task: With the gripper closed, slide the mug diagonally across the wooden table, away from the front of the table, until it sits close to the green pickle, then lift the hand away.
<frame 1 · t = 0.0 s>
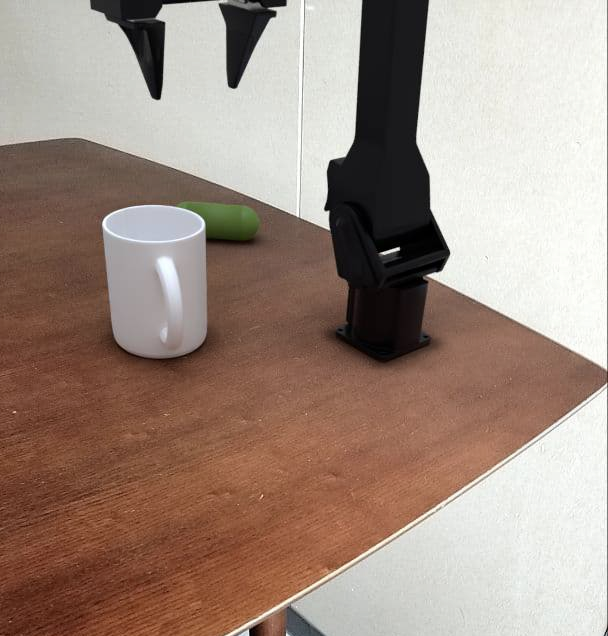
hand: (195, 93, 85), 15 cm above the table, tool pointing down, fingers open, 9 cm apart
pickle: (215, 237, 96), on the table
mug: (164, 350, 76), on the table
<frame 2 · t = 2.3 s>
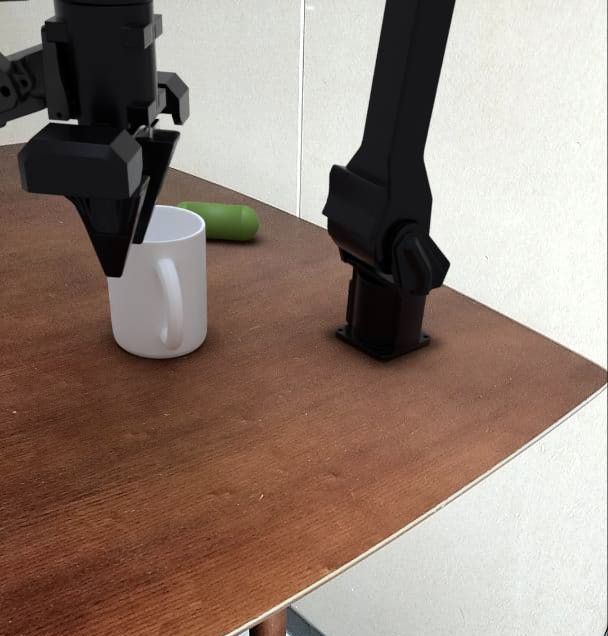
hand: (124, 259, 60), 12 cm above the table, tool pointing down, fingers open, 6 cm apart
nothing on the table moved.
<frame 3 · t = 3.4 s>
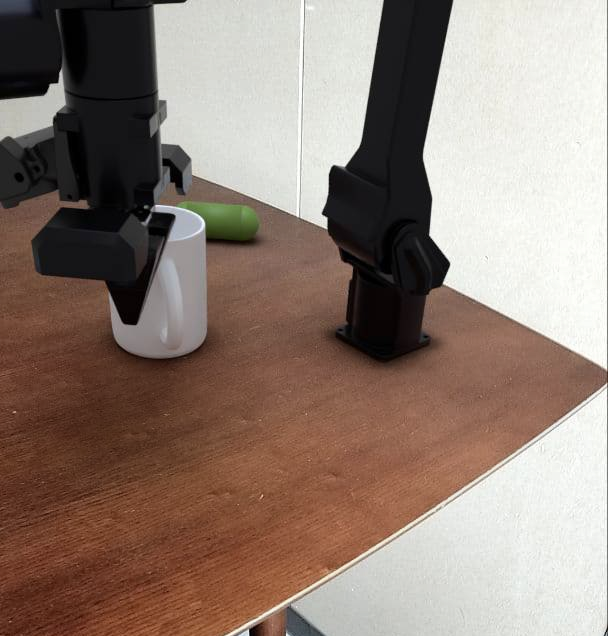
hand: (131, 322, 63), 7 cm above the table, tool pointing down, fingers closed
nothing on the table moved.
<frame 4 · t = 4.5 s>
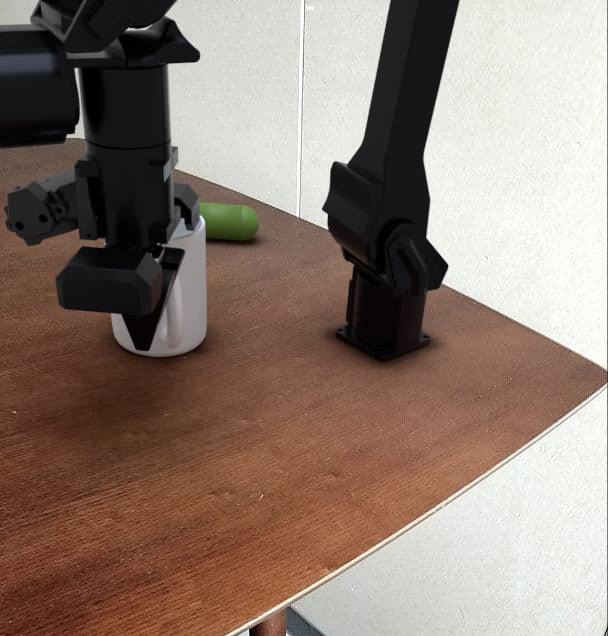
hand: (143, 349, 68), 4 cm above the table, tool pointing down, fingers closed
mug: (164, 348, 76), on the table, touching gripper
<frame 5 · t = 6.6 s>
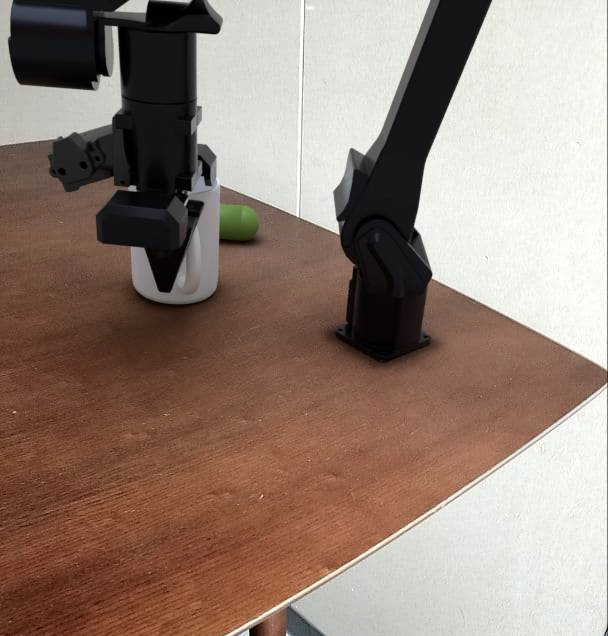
hand: (165, 291, 75), 4 cm above the table, tool pointing down, fingers closed
mug: (179, 298, 83), on the table, touching gripper
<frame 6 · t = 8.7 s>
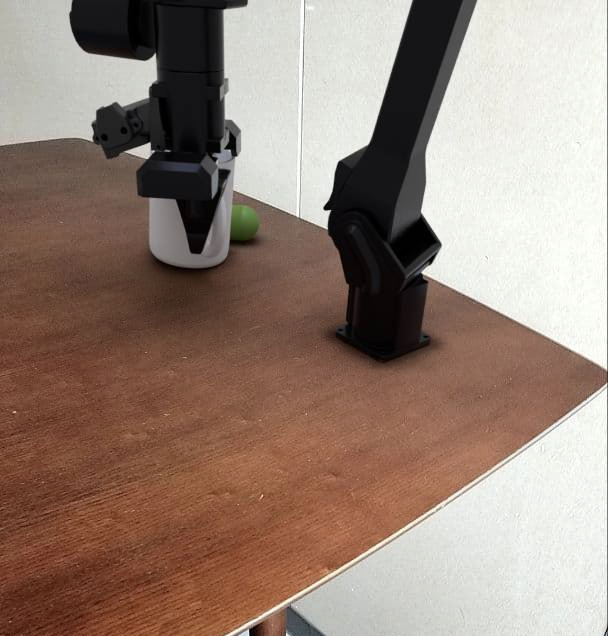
hand: (196, 252, 82), 4 cm above the table, tool pointing down, fingers closed
mug: (195, 263, 90), on the table, touching gripper, pickle
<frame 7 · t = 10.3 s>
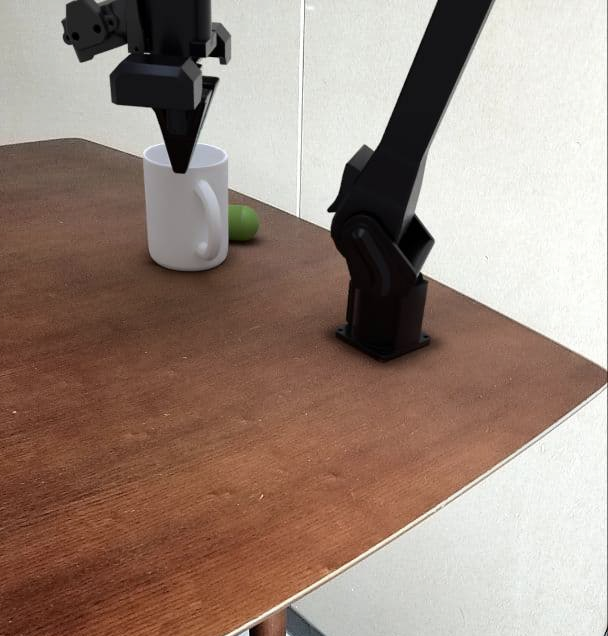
hand: (180, 172, 75), 12 cm above the table, tool pointing down, fingers closed
mug: (195, 265, 90), on the table
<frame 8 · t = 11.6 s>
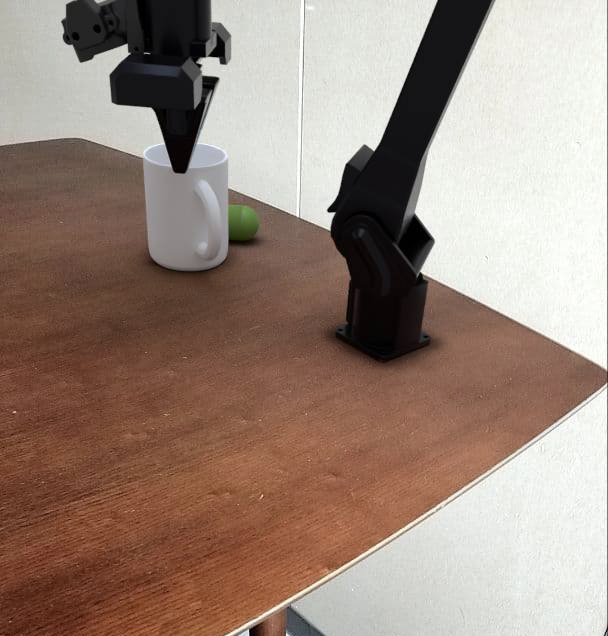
hand: (180, 172, 75), 12 cm above the table, tool pointing down, fingers closed
nothing on the table moved.
at the end: mug 7.6 cm from the pickle (horizontally); mug moved 18.6 cm from its start; mug tilted 0° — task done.
